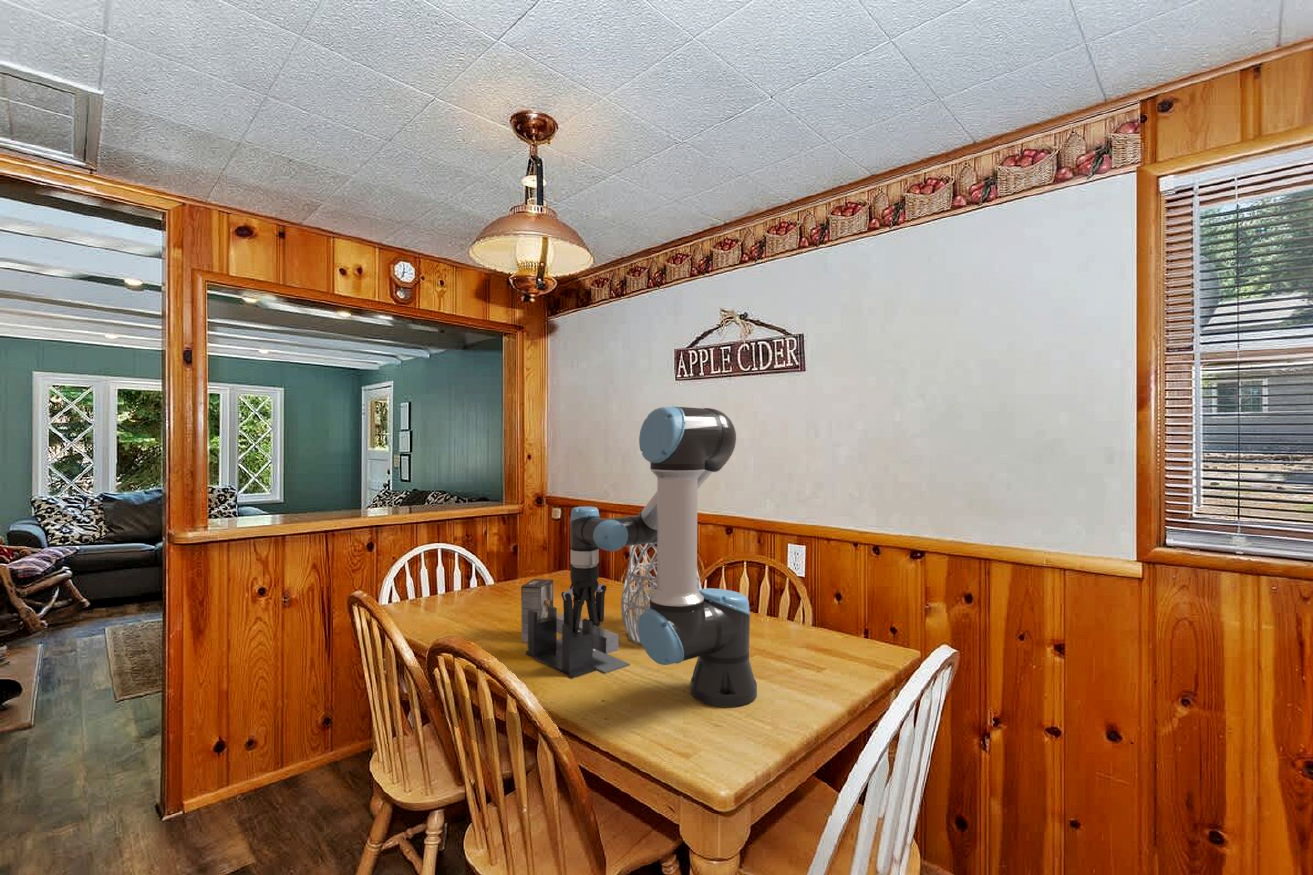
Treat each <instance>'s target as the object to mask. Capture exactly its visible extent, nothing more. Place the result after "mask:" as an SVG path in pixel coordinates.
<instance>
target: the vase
mask: <svg viewBox="0 0 1313 875" xmlns="http://www.w3.org/2000/svg"><path fill="white" fill-rule="evenodd" d="M636 548H638V549H639V552H640V554H639V556H637V553H636ZM650 548H653V550H654V551H655V552H654V553H653V555H652V557H651V558H650V556H649V554H648V552H647V551H648V550H649V549H650ZM645 556H646V557H645ZM646 558H647V559H646ZM641 560H643V562H641V563H640V561H641ZM647 560H648V561H649V562H647ZM635 561H636V562H635ZM644 567H645V568H644ZM652 570H653V571H654V574H655V576H653V575H652V574H651V573H650V572H651V571H652ZM642 572H644V573H643V574H642ZM638 573H639V574H638ZM625 576H626V577H625V580H624V584H623V587H622V588H623V589H622V591H621V592H622V593H621V599H620V600H621V602H620V607H621V619H622V622H623V625H624V628H625V631H626V634H627V636H628V639H629V640H631V641H632V642H633V643H635V644H637V645H641V646H643V645H642V643H641V640H640V636H639V631H638V622H639V618H640V616H641V614H642V613H643V612H644V611H645V610H647V609H650V595H651V594H652V593H653V592H654V591H655V590H656V589H657V542H655V543H646V544H644V546H642V544H638V545H631V546H629V561H628V566H627V571H626V574H625ZM645 581H647V582H645ZM644 582H645V583H644ZM635 584H636V585H635ZM648 585H649V586H648ZM646 586H647V587H646ZM701 589H703V588H702V584H701V579H700V575H699V570H698V569H697V590H698V592H699V591H700V590H701ZM646 590H647V591H649V592H648V593H647V591H646ZM631 611H632V614H631Z"/></svg>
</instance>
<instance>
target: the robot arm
mask: <svg viewBox="0 0 1313 875" xmlns="http://www.w3.org/2000/svg"><path fill="white" fill-rule="evenodd" d="M638 442H639V443H638V444H639V446H638V447H639V450H640V452H641V456H642V458H644V459H645V460H646V462H649V463H650V467H649V468H650V471H651V472H652V473H653V474H654V475H655V476H656V478H657V481H656V482H657V485H656V486H657V491H656V492H655V493H654V494H653V496H652V497H651V498H650V500H649V501H648V502H647V504H646V505H645V506H644V507H643V509H642V510H641V511H640V512H639V513H638V514H637V515H634V516H633V515H631V516H624V517H623V516H622V517H612V518H609V517H608V518H603V517H600V512H599V509H598V508H597V507H595V506H587V505H586V506H585V505H584V506H577V507H576V506H575V507H573V508H572V509H571V511H570V521H569V524H570V525H569V526H570V529H569V530H570V531H569V532H570V533H569V534H570V541H569V542H570V572H569V573H570V574H569V575H570V576H569V578H570V582H571V584H570V587H569V589H568V590H566V591H562V592H561V598H562V602H563V606H562V607H563V614H564V624H567V625H570V626H572V634H574V633H577V632H581V630H578V629H579V624H580V620H581V617H582V611H583V606H584V605H585V603H586V607H587V613H588V620H590V621H592V624H593V625H595V626H598V627H600V626H601V623H603V622H604V620H605V594H606V591H607V585H604V584H600V583H599V582H598V579H599V578H600V577H599V565H598V564H599V562H600V552H599V550H600V549H601V550H602V551H603V550H604V551H607V552H608V551H609V552H617V551H620V550H621V549H622V548H624V547H630V546H631V545H633V546H634V545H638V544H640V545H645V544H646V543H652V544H653V543H655V542H657V544H656V547H657V554H656V556H657V559H656V562H657V564H656V565H657V568H656V572H657V582H656V583H657V589H656V588H655V589H656V590H655V591H654V592H652V594H651V595H650V604H649V605H650V609H647V610H645V611H644V612H643V613H642V612H641V616H640V618H639V621H638V631H639V636H640V640H641V643H642V645H641V646H642V647H643V649H644V650H645V653H646V654H647V656H648V657H649V658H650V659H651V660H652V661H654V662H655V663H656V664H658V665H661V666H666V665H667V666H669V665H673V664H681V663H682V662H686V661H687V660H688V661H689V660H692V659H694V658H697V660H696V663H695V666H694V669H693V673H692V677H691V678H690V683H689V686H690V687H689V688H690V690H689V692H690V695H691V696H692V697H693V699H695V700H697V701H698V702H700V703H703V704H706V705H709V706H713V707H720V708H721V707H722V708H730V707H731V708H733V707H740V706H745V705H747V704H751V702H754V701H755V700H756V698H757V697H758V685H757V684H758V683H757V681H756V678H755V676H754V672H753V668H752V665H751V662H750V628H751V627H750V624H751V623H750V622H751V617H750V616H751V612H750V602H749V599H748V597H747V596H746V595H744V594H743V593H741V592H738V591H734V590H730V589H729V590H728V589H723V588H714V587H713V588H709V587H708V588H702V589H701V590H700V591H699V592H698V590H697V570H698V490H699V488H700V487H701V486H702V485H703V484H704V483H705V481H706V480H707V479H708V478H709V477H710V476H711V475H712V474H713V473H717V472H719V471H720V470H721V469H722V468H723V467H724V466H725V465H726V464H727V462H728V461H729V460H730V458H731V457H732V455H733V452H734V451H735V449H736V448H735V447H736V443H737V433H736V429H735V426H734V424H733V422H732V420H731V419H730V418H729V417H728V416H727V415H726V414H725V413H724V412H722V411H720V410H718V409H715V408H710V407H703V408H701V407H687V406H674V405H673V406H664V407H658V408H655V409H654V410H652V411H651V412H649V413H648V415H647V416H646V418H645V419H644V421H643V422H642V425H641V428H640V432H639V436H638ZM592 651H595V649H593V648H592Z"/></svg>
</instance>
